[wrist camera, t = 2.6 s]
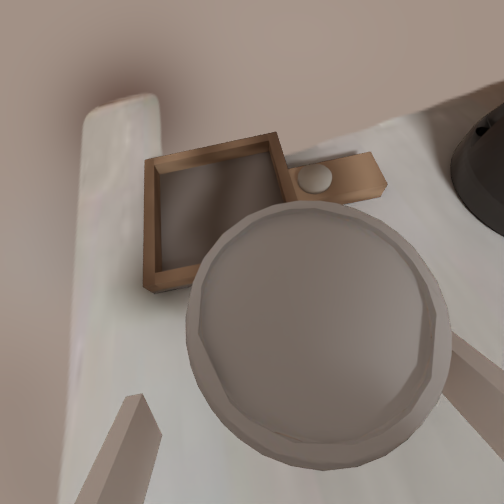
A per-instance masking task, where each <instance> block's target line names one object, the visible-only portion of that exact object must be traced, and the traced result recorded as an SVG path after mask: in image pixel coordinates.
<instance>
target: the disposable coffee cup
mask: <svg viewBox="0 0 504 504" xmlns="http://www.w3.org/2000/svg"><path fill="white" fill-rule="evenodd" d="M186 345H187V350H188V355H189V360H190V365H191V368H192V371H193V374H194V376H195V379H196V382H197V385H198V387H199V389H200V390H201V392H202V394H203V396H204V397H205V399H206V401H207V403H208V404H209V406H210V408H211V409H212V411H213V412H214V413H215V414H216V416H217V417H218V418H219V419H220V421H221V422H222V423H223V424H224V425H225V426H226V427H227V428H228V429H229V430H230V431H231V432H232V433H233V434H234V435H235V436H237V437H238V438H239V439H240V440H241V441H243V442H244V443H246V444H247V445H249V446H250V447H252V448H253V449H255V450H256V451H258V452H259V453H261V454H262V455H264V456H267V457H270V458H272V459H275V460H277V461H280V462H282V463H285V464H288V465H290V466H295V467H301V468H308V469H314V470H320V471H326V470H334V469H343V468H351V467H358V466H361V465H363V464H366V463H368V462H371V461H373V460H376V459H378V458H381V457H383V456H386V455H387V454H388V453H390V452H391V451H393V450H394V449H395V448H397V447H398V446H399V445H401V444H402V443H403V442H405V441H406V440H408V439H409V437H410V436H411V435H412V434H413V433H414V432H415V431H416V430H417V429H418V428H419V427H420V426H421V425H422V423H423V422H424V421H425V419H426V418H427V416H428V415H429V414H430V412H431V411H432V409H433V408H434V406H435V405H436V404H437V402H438V400H439V398H440V395H441V392H442V390H443V387H444V385H445V382H446V379H447V377H448V373H449V367H450V361H451V355H452V330H451V325H450V319H449V314H448V309H447V305H446V303H445V300H444V297H443V295H442V292H441V289H440V287H439V284H438V282H437V280H436V279H435V277H434V276H433V274H432V273H431V271H430V269H429V268H428V266H427V265H426V263H425V262H424V261H423V259H422V258H421V257H420V255H419V254H418V252H417V251H416V250H415V248H414V247H413V246H412V245H411V244H410V243H408V242H407V241H406V240H405V239H404V238H403V237H402V236H401V235H400V234H399V233H398V232H396V231H395V230H393V229H392V228H391V227H389V226H388V225H386V224H385V223H383V222H382V221H381V220H379V219H377V218H375V217H372V216H370V215H368V214H366V213H364V212H361V211H359V210H357V209H355V208H351V207H348V206H344V205H341V204H337V203H331V202H325V201H293V202H288V203H282V204H276V205H272V206H270V207H267V208H265V209H262V210H260V211H257V212H255V213H253V214H250V215H248V216H246V217H245V218H244V219H242V220H241V221H239V222H238V223H237V224H235V225H234V226H233V227H231V228H230V229H229V230H227V231H226V232H225V233H223V234H222V236H221V237H220V238H219V239H218V241H217V242H216V243H215V244H214V246H213V247H212V248H211V249H210V251H209V252H208V253H207V255H206V256H205V257H204V258H203V261H202V263H201V265H200V267H199V270H198V272H197V274H196V277H195V279H194V281H193V284H192V288H191V293H190V296H189V302H188V308H187V314H186Z"/></svg>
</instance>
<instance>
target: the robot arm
mask: <svg viewBox="0 0 504 504" xmlns="http://www.w3.org/2000/svg"><path fill="white" fill-rule="evenodd" d="M451 175H452V180H453V183H454V186H455V188H456V190H457V192H458V194H459V196H460V197H461V199H462V200H463V202H464V203H465V204H466V205H467V207H468V208H469V209H470V210H471V211H472V212H473V213H474V214H475V215H476V216H477V217H478V218H479V219H480V220H481V221H483V222H484V223H485V224H486V225H488V226H489V227H491V228H492V229H493V230H495V231H496V232H498V233H500V234H501V235H503V236H504V103H503V104H501V105H500V106H498V107H497V108H496V109H494V110H493V111H491V112H490V113H489V114H487V115H486V116H485V117H483V118H482V119H481V120H480V121H479V122H478V123H477V124H476V125H475V126H473V128H472V129H471V130H470V131H469V133H468V134H467V135H466V136H465V138H464V139H463V140H462V141H461V143H460V144H459V145H458V147H457V148H456V150H455V152H454V154H453V157H452V161H451ZM442 393H443V395H444V396H445V397H446V398H447V399H448V400H449V401H450V402H451V403H452V405H453V406H454V407H455V408H456V409H457V410H458V411H459V412H460V413H461V415H462V416H463V417H464V418H465V419H466V420H467V421H468V422H469V423H470V424H471V426H472V427H473V428H474V429H475V430H476V431H477V432H478V433H479V434H480V436H481V437H482V438H483V439H484V440H485V441H486V442H487V443H488V444H489V446H490V447H491V448H492V449H493V450H494V451H495V452H496V453H497V454H498V455H499V457H500V458H501V459H502V460H503V461H504V371H503V370H502V369H501V368H499V367H498V366H497V365H495V364H494V363H493V362H491V361H490V360H489V359H488V358H486V357H485V356H484V355H482V354H481V353H480V352H478V351H477V350H476V349H475V348H473V347H472V346H471V345H469V344H468V343H467V342H465V341H464V340H463V339H462V338H460V337H459V336H458V335H456V334H455V333H454V332H452V355H451V361H450V367H449V373H448V377H447V379H446V382H445V385H444V387H443V390H442ZM161 438H162V434H161V432H160V430H159V427H158V425H157V423H156V421H155V419H154V417H153V415H152V413H151V411H150V408H149V406H148V404H147V402H146V400H145V398H144V396H143V394H137V395H132V396H127V397H125V400H124V402H123V404H122V406H121V408H120V410H119V412H118V414H117V416H116V418H115V420H114V422H113V425H112V427H111V429H110V431H109V433H108V435H107V437H106V439H105V441H104V443H103V445H102V447H101V450H100V452H99V454H98V456H97V458H96V460H95V462H94V464H93V466H92V468H91V470H90V473H89V475H88V477H87V479H86V481H85V483H84V485H83V487H82V489H81V491H80V493H79V495H78V498H77V500H76V502H75V504H143V503H144V500H145V496H146V492H147V489H148V485H149V481H150V478H151V474H152V471H153V467H154V463H155V460H156V456H157V453H158V449H159V445H160V442H161Z"/></svg>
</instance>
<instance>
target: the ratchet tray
mask: <svg viewBox="0 0 504 504" xmlns="http://www.w3.org/2000/svg"><path fill="white" fill-rule="evenodd" d="M387 185H388V184H387V182H386V180H385V178H384V176H383V174H382V172H381V171H380V169H379V167H378V165H377V163H376V161H375V159H374V157H373V155H372V153H371V152H366V153H362V154H357V155H352V156H348V157H343V158H338V159H333V160H329V161H324V162H319V163H314V164H309V165H305V166H300V167H296V168H291V169H288V167H287V164H286V161H285V158H284V154H283V151H282V148H281V145H280V142H279V139H278V135H277V132H272V133H268V134H263V135H258V136H254V137H249V138H244V139H240V140H235V141H231V142H226V143H221V144H217V145H212V146H207V147H203V148H198V149H194V150H189V151H184V152H179V153H175V154H170V155H165V156H161V157H156V158H151V159H147V160H145V170H144V243H143V287H144V288H146V289H147V290H149V291H151V292H152V293H154V294H155V293H160V292H164V291H169V290H174V289H179V288H184V287H189V286H192V284H193V281H194V279H195V277H196V274H197V272H198V270H199V267H200V265H201V263H202V261H203V258H204V257H205V256H206V255H207V253H208V252H209V251H210V249H211V248H212V247H213V246H214V244H215V243H216V242H217V241H218V239H219V238H220V237H221V236H222V234H223V233H225V232H226V231H227V230H229V229H230V228H231V227H233V226H234V225H235V224H237V223H238V222H239V221H241V220H242V219H244V218H245V217H246V216H248V215H250V214H253V213H255V212H257V211H260V210H262V209H265V208H267V207H270V206H272V205H276V204H282V203H288V202H293V201H325V202H331V203H337V204H341V205H343V204H348V203H353V202H358V201H363V200H367V199H372V198H377V197H381V195H382V193H383V191H384V190H385V188H386V186H387Z"/></svg>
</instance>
